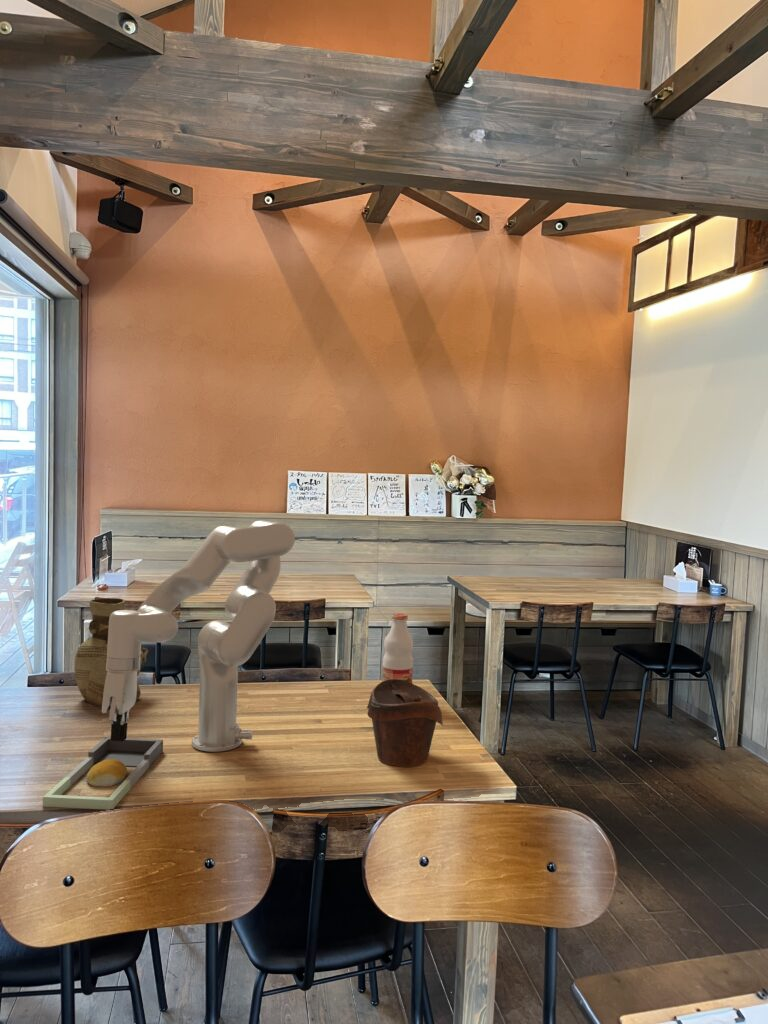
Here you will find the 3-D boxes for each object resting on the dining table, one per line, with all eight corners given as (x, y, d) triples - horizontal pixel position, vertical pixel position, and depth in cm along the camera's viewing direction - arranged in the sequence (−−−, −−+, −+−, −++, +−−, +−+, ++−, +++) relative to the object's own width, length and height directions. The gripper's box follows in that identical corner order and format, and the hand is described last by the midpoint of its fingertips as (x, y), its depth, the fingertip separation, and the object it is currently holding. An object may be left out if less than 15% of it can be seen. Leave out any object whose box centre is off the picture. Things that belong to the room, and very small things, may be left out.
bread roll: (128, 770, 171) (128, 753, 170) (123, 786, 162) (123, 768, 162) (90, 772, 169) (90, 755, 169) (83, 788, 160) (83, 770, 160)
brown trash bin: (423, 779, 171) (426, 703, 171) (350, 760, 181) (353, 688, 180) (454, 756, 187) (457, 686, 186) (385, 740, 196) (388, 674, 196)
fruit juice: (391, 698, 233) (394, 610, 232) (416, 703, 229) (420, 614, 227) (375, 705, 225) (378, 615, 224) (401, 711, 221) (405, 619, 219)
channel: (162, 751, 182) (163, 739, 182) (112, 809, 150) (112, 795, 150) (105, 748, 182) (105, 737, 182) (42, 806, 151) (42, 792, 150)
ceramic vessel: (154, 704, 219) (156, 604, 217) (77, 712, 208) (79, 608, 207) (141, 687, 235) (143, 594, 234) (70, 694, 225) (72, 597, 224)
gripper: (119, 655, 181) (115, 728, 182) (94, 669, 166) (89, 749, 167) (149, 657, 181) (145, 731, 181) (127, 671, 166) (122, 752, 166)
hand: (118, 739), depth 174 cm, fingers closed
